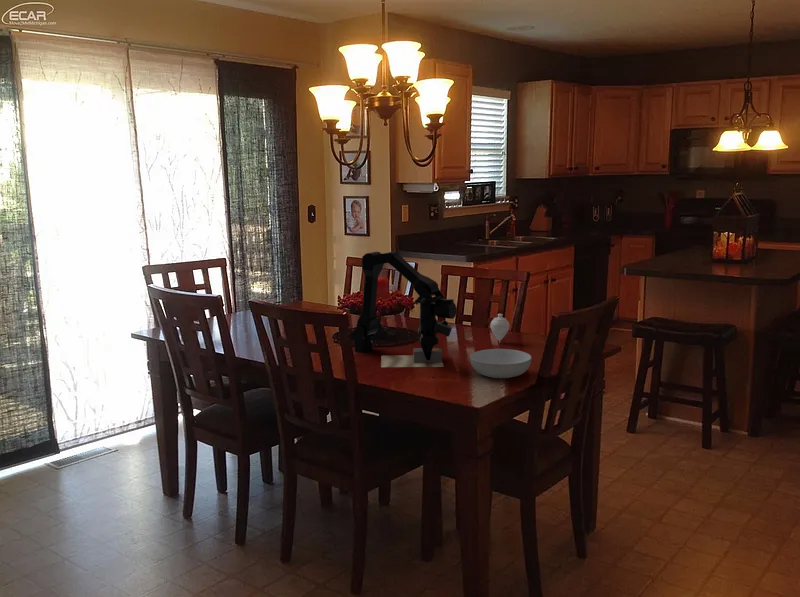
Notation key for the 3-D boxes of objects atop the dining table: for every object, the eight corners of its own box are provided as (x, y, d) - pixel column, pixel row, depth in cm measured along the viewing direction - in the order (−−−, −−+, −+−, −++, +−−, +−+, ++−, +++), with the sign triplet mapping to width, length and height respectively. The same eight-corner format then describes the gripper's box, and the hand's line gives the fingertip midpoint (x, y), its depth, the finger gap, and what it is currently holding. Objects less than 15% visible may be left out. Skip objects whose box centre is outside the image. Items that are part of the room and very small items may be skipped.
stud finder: (414, 362, 260) (414, 351, 259) (413, 358, 265) (413, 347, 264) (441, 362, 260) (441, 351, 259) (440, 358, 265) (440, 347, 264)
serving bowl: (493, 363, 264) (493, 345, 263) (542, 374, 249) (543, 355, 248) (457, 375, 249) (457, 356, 248) (507, 388, 235) (507, 367, 234)
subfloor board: (381, 371, 254) (381, 367, 254) (381, 359, 270) (381, 355, 270) (443, 370, 255) (443, 366, 254) (440, 358, 271) (440, 354, 270)
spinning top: (488, 344, 292) (489, 315, 290) (491, 340, 299) (492, 311, 297) (507, 345, 290) (508, 316, 288) (510, 341, 297) (511, 312, 295)
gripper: (452, 321, 250) (452, 364, 253) (448, 310, 269) (447, 351, 271) (420, 321, 250) (420, 365, 253) (418, 310, 268) (418, 351, 271)
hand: (427, 358), depth 262 cm, fingers closed on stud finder, 5 cm apart
